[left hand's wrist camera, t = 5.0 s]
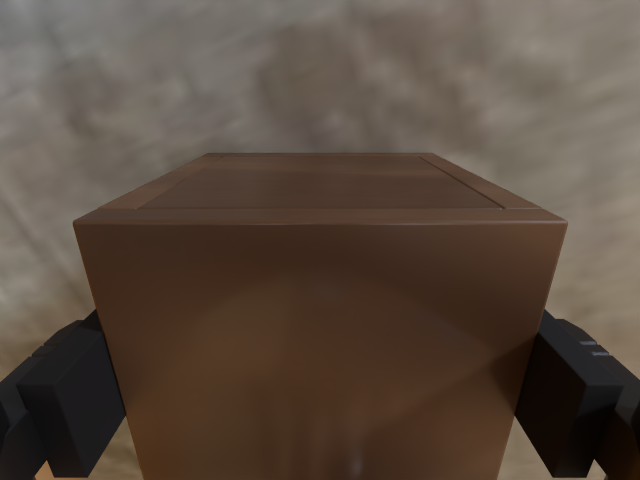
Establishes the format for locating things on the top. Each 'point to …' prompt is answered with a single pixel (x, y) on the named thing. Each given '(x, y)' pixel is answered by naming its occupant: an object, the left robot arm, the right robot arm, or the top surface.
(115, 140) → the top surface
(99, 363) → the left robot arm
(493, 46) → the top surface
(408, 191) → the cabinet
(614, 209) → the top surface
